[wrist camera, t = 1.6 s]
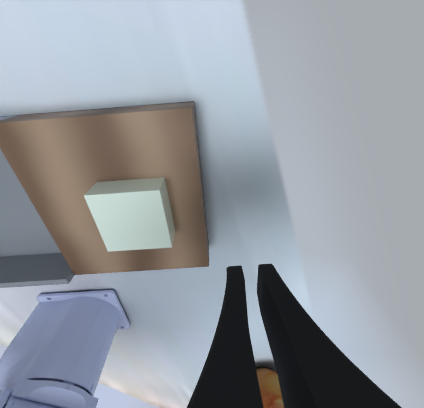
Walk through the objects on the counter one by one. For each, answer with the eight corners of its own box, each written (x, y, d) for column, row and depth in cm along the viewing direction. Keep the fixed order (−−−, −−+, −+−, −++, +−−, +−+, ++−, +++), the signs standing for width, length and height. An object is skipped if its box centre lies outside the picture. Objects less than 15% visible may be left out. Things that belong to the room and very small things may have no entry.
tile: (116, 235, 19) (107, 251, 17) (96, 182, 16) (83, 195, 14) (175, 231, 19) (172, 247, 17) (164, 177, 16) (159, 190, 14)
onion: (288, 379, 42) (309, 459, 33) (237, 384, 43) (244, 463, 34) (287, 355, 37) (312, 441, 28) (229, 362, 38) (235, 447, 29)
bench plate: (88, 252, 24) (74, 274, 21) (20, 115, 16) (-15, 123, 14) (208, 244, 23) (208, 266, 21) (193, 101, 16) (191, 107, 14)
